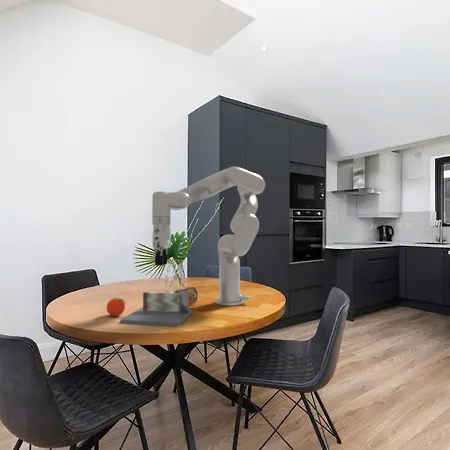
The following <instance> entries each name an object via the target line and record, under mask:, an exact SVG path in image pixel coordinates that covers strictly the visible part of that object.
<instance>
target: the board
mask: <svg viewBox="0 0 450 450" xmlns="http://www.w3.org/2000/svg"><path fill="white" fill-rule="evenodd" d="M193 311H194V310H193V309H188V313H186V314H183V313H181V309H180V311H179V312H174V311H154V310H143V307H142V306H141V307H140V308H138V309H136V310H135V311H133V312H132V313H129V314H128V315H126V316H124V317H122V318H120V320H119V324H133V325H150V326H165V327H166V326H167V327H169V326H170V327H179V326H180V325H182V324H183V323H184V321H186V320H187V319H188V318H189V317H190V316H191V315H192V314H193Z"/></svg>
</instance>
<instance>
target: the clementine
mask: <svg viewBox="0 0 450 450" xmlns="http://www.w3.org/2000/svg"><path fill="white" fill-rule="evenodd" d="M126 304H127V302H126V301H125V300H124V299H122V298H118V297H115V298H111V299H110V300H109V301H108V302H107V304H106V311H107V313H108V314H109V315H110V316H113V317H118V316H121V315H122V314H123V313H124V311H125V309H126Z"/></svg>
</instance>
